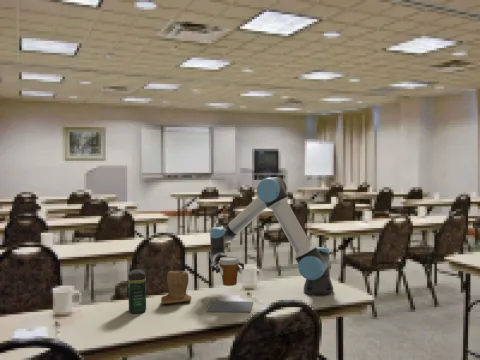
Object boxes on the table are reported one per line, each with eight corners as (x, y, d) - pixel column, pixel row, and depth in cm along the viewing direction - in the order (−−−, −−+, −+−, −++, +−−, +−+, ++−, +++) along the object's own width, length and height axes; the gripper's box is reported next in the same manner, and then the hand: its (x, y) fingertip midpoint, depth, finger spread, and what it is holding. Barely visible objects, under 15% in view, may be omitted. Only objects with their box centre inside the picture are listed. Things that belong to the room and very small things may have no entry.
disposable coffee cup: (239, 286, 196) (239, 260, 196) (218, 287, 196) (218, 260, 196) (240, 281, 205) (239, 256, 205) (220, 281, 206) (219, 256, 205)
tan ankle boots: (188, 296, 219) (187, 267, 219) (193, 303, 208) (192, 272, 207) (158, 300, 214) (157, 269, 214) (161, 307, 203) (160, 275, 203)
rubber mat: (253, 302, 207) (253, 301, 207) (250, 312, 193) (250, 311, 193) (211, 302, 209) (211, 300, 209) (206, 311, 195) (206, 310, 195)
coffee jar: (147, 312, 195) (146, 272, 195) (128, 314, 193) (127, 273, 193) (146, 306, 205) (145, 267, 204) (128, 308, 203) (127, 268, 202)
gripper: (241, 267, 221) (254, 277, 199) (201, 270, 215) (209, 281, 193) (241, 252, 220) (254, 261, 198) (200, 255, 215) (208, 264, 193)
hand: (231, 271), depth 196 cm, fingers closed on disposable coffee cup, 8 cm apart
